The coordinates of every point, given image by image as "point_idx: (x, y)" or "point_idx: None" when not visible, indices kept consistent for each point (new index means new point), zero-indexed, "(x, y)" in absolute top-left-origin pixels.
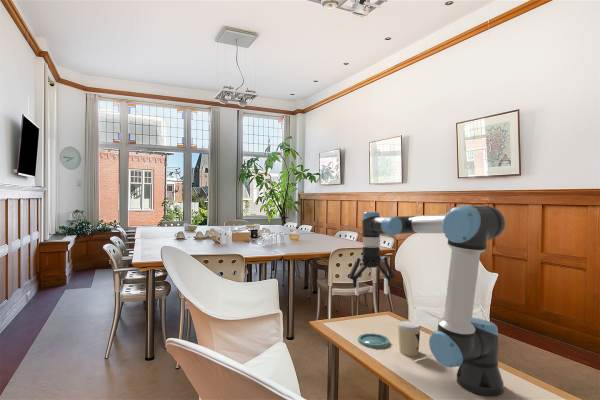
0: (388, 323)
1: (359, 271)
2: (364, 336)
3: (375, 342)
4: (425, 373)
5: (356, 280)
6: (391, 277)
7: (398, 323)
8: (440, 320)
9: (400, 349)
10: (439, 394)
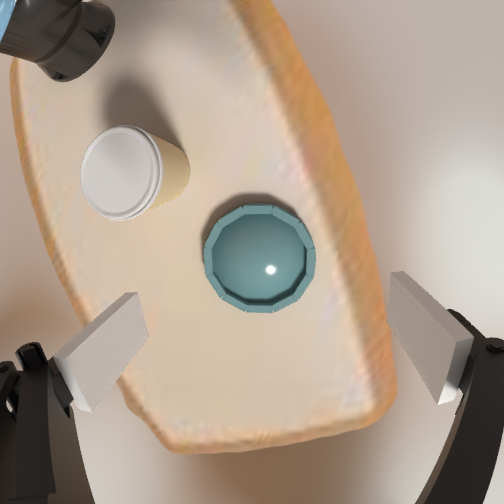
0: (176, 396)
1: (494, 451)
2: (282, 298)
3: (255, 243)
4: (169, 43)
5: (469, 351)
6: (21, 373)
7: (154, 179)
8: None
9: (187, 163)
10: None
